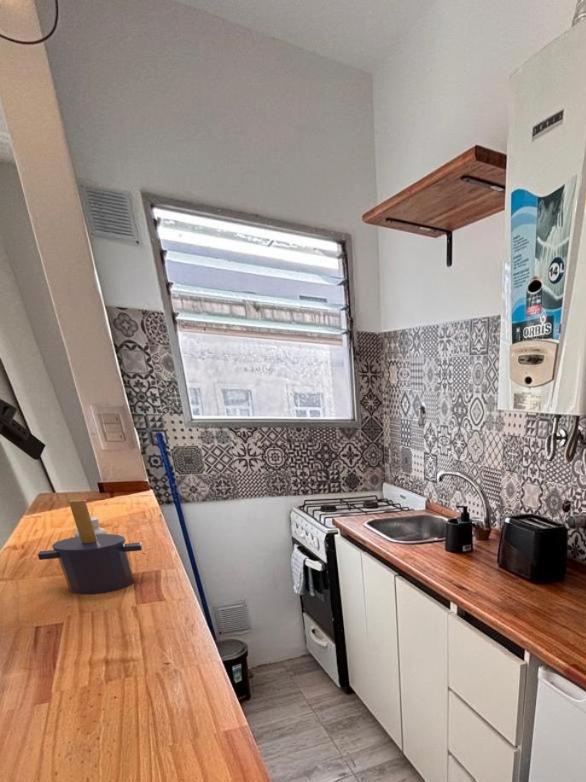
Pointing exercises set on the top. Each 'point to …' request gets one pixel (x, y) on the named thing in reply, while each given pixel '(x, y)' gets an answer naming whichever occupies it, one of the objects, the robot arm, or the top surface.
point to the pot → (96, 568)
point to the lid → (86, 533)
